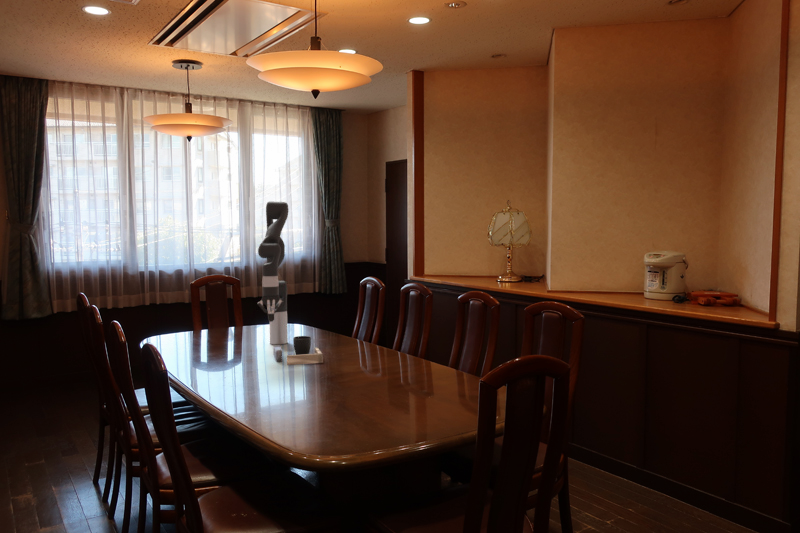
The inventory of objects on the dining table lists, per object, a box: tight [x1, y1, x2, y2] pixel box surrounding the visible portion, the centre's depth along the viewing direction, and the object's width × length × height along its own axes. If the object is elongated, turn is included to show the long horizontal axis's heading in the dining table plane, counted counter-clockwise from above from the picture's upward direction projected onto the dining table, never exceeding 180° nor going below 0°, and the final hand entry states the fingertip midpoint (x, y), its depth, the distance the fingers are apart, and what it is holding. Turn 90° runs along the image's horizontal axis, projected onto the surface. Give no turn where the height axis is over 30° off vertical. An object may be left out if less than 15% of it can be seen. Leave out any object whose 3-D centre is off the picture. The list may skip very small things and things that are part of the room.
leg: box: [273, 344, 282, 361], centre depth 282 cm, size 14×3×4 cm, turn 15°
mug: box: [292, 335, 312, 355], centre depth 285 cm, size 8×12×10 cm
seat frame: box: [286, 347, 324, 366], centre depth 277 cm, size 15×16×4 cm
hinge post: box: [276, 349, 283, 363], centre depth 274 cm, size 2×2×5 cm
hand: (271, 321), depth 285 cm, fingers closed
